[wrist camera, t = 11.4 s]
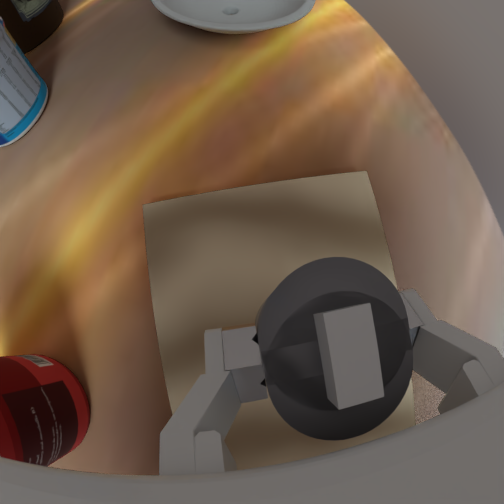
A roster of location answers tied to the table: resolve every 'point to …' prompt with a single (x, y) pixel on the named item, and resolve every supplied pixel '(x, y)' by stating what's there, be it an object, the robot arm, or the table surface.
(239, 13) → the dish
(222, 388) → the robot arm
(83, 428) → the canned food
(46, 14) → the olive oil
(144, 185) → the table surface
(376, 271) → the dark grey cylinder
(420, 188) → the table surface
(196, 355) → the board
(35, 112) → the beverage bottle
